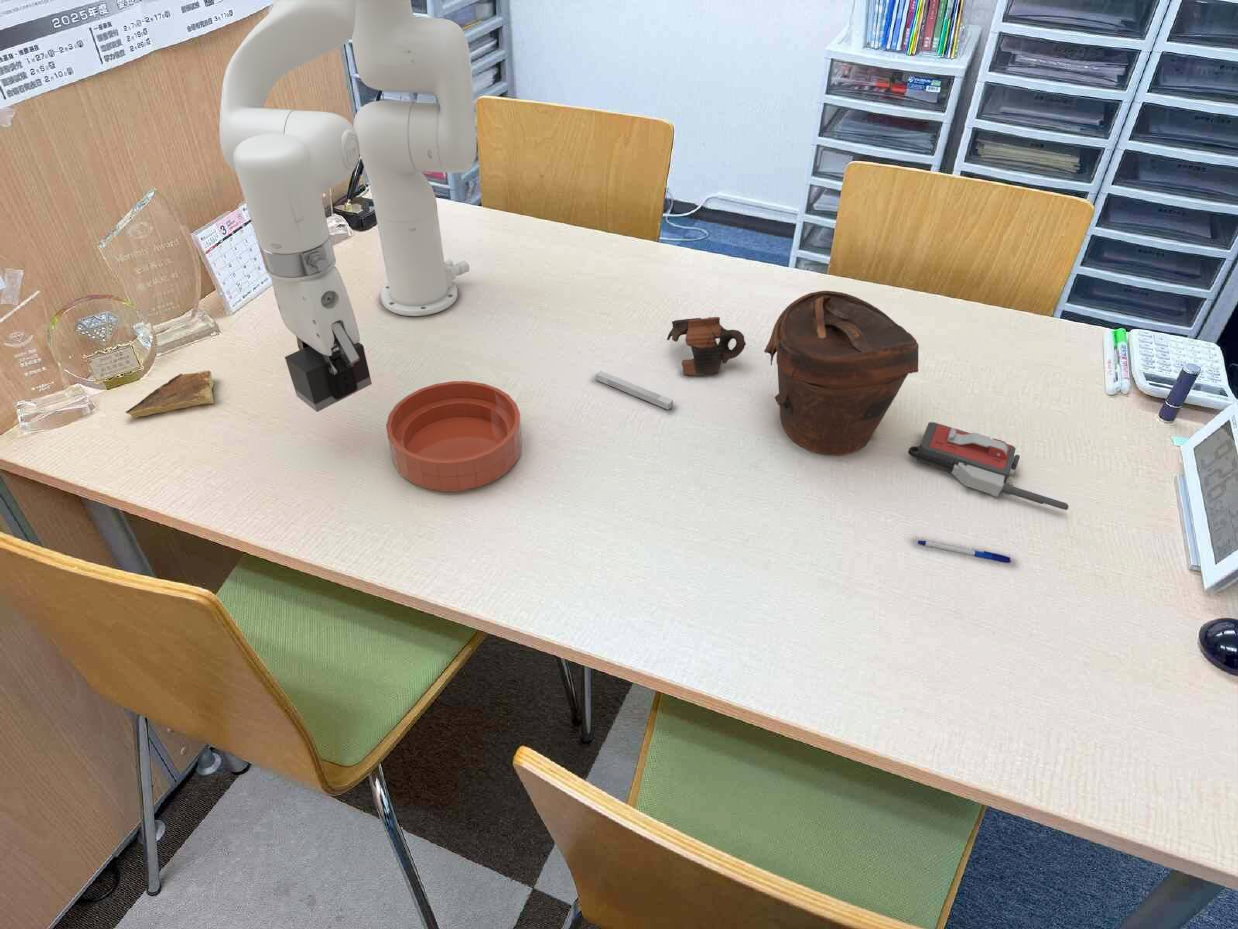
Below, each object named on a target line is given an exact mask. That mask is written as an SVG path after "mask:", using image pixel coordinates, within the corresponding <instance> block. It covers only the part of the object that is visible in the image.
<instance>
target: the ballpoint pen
mask: <svg viewBox="0 0 1238 929" xmlns="http://www.w3.org/2000/svg"><path fill="white" fill-rule="evenodd" d="M917 544H918V545H921V546H924V547H928V548H933V549H938V550H943V551H948V552H952V553H957V554H963V555H967V556H972V557H976V558H980V559H985V560H990V561H995V562H1000V563H1006V564H1010V563H1011V562H1012V560H1011V557H1010V556H1006V555H1004V554H999V553H995V552H991V551H986V550H983V551H979V550H972V549H968V548H963V547H957V546H953V545H948V544H942V543H939V542H933V541H928V540H917Z"/></svg>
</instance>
